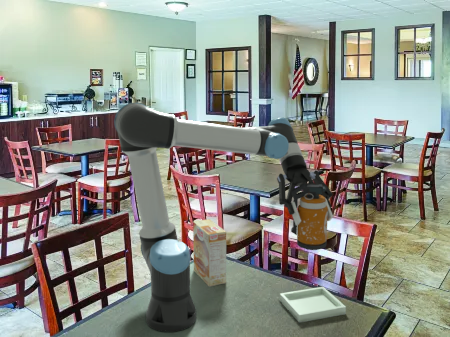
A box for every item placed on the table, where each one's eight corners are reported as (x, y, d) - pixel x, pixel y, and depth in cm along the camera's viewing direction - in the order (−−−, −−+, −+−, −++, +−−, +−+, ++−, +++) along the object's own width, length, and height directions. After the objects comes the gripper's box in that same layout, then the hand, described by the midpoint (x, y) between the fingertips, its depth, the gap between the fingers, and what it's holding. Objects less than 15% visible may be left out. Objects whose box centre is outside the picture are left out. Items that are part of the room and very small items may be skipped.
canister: (326, 252, 138) (329, 188, 133) (289, 250, 140) (290, 187, 135) (325, 241, 146) (328, 180, 141) (290, 239, 148) (292, 179, 143)
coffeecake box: (192, 270, 173) (192, 221, 169) (210, 266, 176) (210, 218, 172) (208, 287, 160) (208, 234, 155) (226, 283, 163) (227, 231, 158)
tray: (299, 322, 138) (299, 315, 137) (279, 300, 151) (279, 293, 150) (345, 314, 143) (346, 306, 142) (322, 293, 156) (323, 286, 155)
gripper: (318, 163, 156) (342, 222, 145) (256, 169, 149) (276, 231, 138) (327, 151, 150) (352, 211, 139) (263, 156, 142) (284, 219, 132)
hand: (314, 221), depth 138 cm, fingers closed on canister, 10 cm apart
